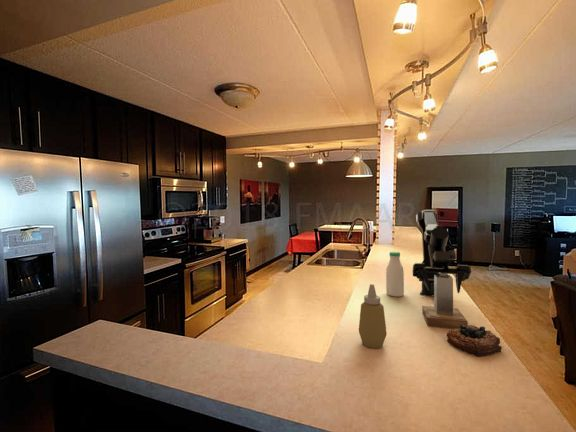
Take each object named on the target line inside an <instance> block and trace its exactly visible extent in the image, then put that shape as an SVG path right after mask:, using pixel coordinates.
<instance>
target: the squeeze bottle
mask: <svg viewBox="0 0 576 432" xmlns="http://www.w3.org/2000/svg"><path fill="white" fill-rule="evenodd" d="M363 296H364V297H363V302H362V303H361V304H360V313H359V324H358V333H359V336H360V340H361V342H362V345H364V346H366V347H367V348H370V349H379V348H382V347H383V345H384V343H385V341H386V336H387V327H386V316H385V315H386V314H385V307H384V305H383V304H382V303H381V296H379V295H377V292H376V288H375V284H369V286H368V292H367V294H365V295H363Z"/></svg>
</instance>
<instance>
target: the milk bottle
mask: <svg viewBox="0 0 576 432" xmlns="http://www.w3.org/2000/svg"><path fill="white" fill-rule="evenodd" d="M400 257H401V253H400V252H399V251H389V260H388V261H389V262H388V264H387V266H386V269H385V270H386V272H385V274H386V275H385V276H386V277H385V287H386V290H385V291H386V295H388V296H390V297H395V298H396V297H397V298H398V297H403V296H404V295H405V284H404V283H405V274H404V273H405V271H404V267H403V265H402V262H401V259H400Z"/></svg>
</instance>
